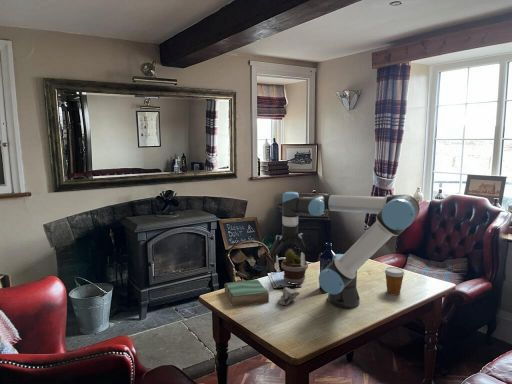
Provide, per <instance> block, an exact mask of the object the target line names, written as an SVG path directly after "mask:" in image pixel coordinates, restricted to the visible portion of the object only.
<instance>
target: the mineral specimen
mask: <svg viewBox="0 0 512 384" xmlns="http://www.w3.org/2000/svg"><path fill="white" fill-rule="evenodd" d="M300 294H301V292H299V291H296V290H294V289H292V288H290V287H289V288H288V287H283V290H282V295H280V298H279V300H278V305H283V306H286V305H289V304H290V303H291V302H292V301H294V300H296V298H297V297H298V296H299V295H300Z"/></svg>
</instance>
